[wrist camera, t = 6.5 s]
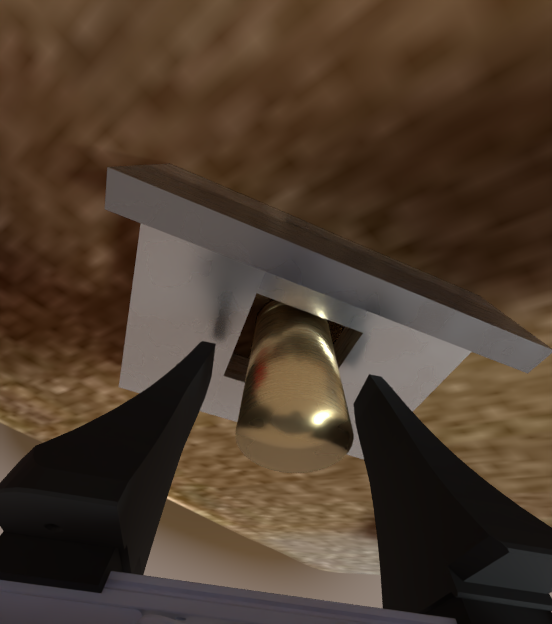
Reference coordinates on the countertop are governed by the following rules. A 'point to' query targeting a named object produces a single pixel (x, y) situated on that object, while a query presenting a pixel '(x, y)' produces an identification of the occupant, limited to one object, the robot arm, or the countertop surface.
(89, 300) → the countertop surface
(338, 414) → the brass cylinder
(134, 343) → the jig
